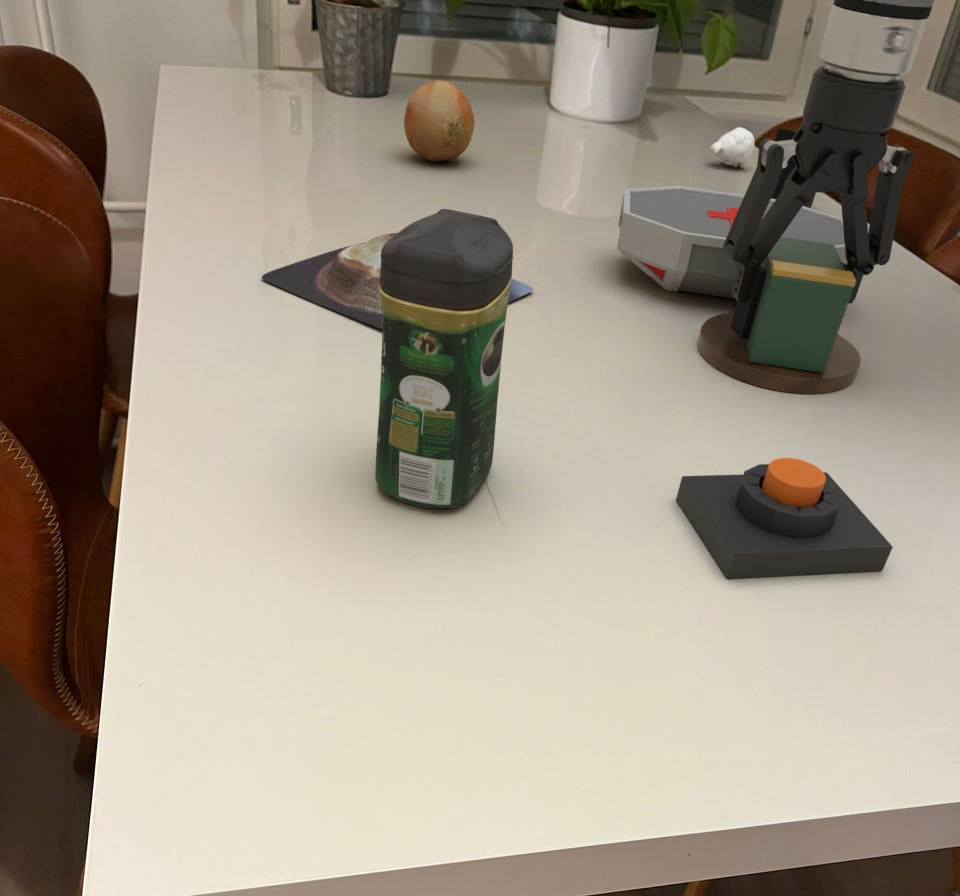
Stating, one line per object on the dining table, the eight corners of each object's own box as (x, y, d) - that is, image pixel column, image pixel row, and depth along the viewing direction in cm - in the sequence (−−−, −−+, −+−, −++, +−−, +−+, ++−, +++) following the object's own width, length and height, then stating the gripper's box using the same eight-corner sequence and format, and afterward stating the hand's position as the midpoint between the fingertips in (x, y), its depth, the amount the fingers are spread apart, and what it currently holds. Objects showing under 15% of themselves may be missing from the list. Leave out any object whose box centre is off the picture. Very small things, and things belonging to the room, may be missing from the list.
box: (739, 313, 101) (763, 227, 95) (810, 324, 101) (837, 238, 95) (748, 362, 92) (774, 269, 86) (825, 373, 91) (856, 281, 86)
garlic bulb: (699, 161, 153) (707, 123, 149) (730, 161, 155) (739, 123, 152) (718, 172, 149) (727, 133, 146) (750, 171, 151) (760, 132, 148)
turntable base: (811, 325, 105) (815, 312, 104) (885, 393, 93) (891, 378, 92) (674, 324, 101) (678, 310, 100) (734, 394, 90) (738, 379, 89)
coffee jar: (406, 438, 78) (419, 191, 66) (501, 462, 76) (532, 214, 65) (357, 497, 71) (361, 232, 59) (461, 524, 69) (487, 258, 57)
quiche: (536, 292, 104) (541, 254, 102) (411, 345, 91) (413, 303, 89) (388, 238, 113) (389, 201, 110) (256, 279, 100) (253, 239, 97)
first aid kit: (609, 297, 105) (843, 330, 104) (623, 225, 100) (867, 259, 100) (613, 244, 119) (819, 273, 118) (624, 178, 114) (840, 208, 113)
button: (802, 477, 72) (810, 456, 71) (828, 507, 69) (836, 486, 68) (752, 479, 71) (759, 457, 70) (776, 509, 68) (783, 487, 67)
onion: (430, 174, 134) (435, 92, 128) (388, 154, 140) (391, 74, 133) (485, 167, 139) (492, 88, 133) (442, 148, 145) (447, 71, 138)
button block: (817, 496, 77) (834, 451, 75) (882, 572, 70) (902, 525, 67) (675, 500, 75) (687, 454, 72) (726, 580, 67) (741, 531, 65)
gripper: (761, 73, 76) (694, 349, 91) (999, 89, 81) (898, 350, 95) (726, 53, 82) (667, 316, 97) (950, 68, 86) (862, 319, 101)
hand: (782, 333), depth 96 cm, fingers closed on box, 8 cm apart
